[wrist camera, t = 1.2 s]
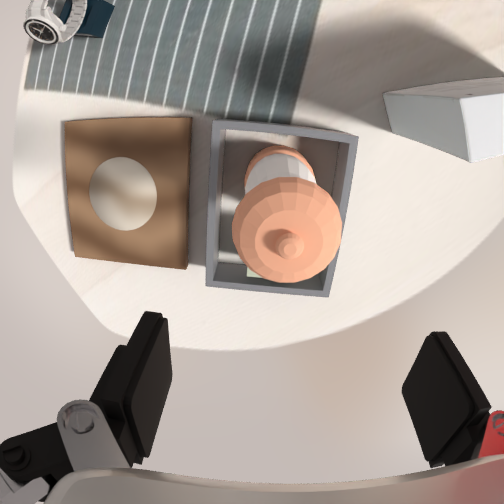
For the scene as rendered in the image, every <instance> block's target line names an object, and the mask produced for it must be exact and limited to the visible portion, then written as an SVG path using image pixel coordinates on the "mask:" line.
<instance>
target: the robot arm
mask: <svg viewBox="0 0 504 504" xmlns="http://www.w3.org/2000/svg"><path fill="white" fill-rule="evenodd" d="M171 382H172V365H171V355H170V344H169V331H168V320H167V318H163V316H162V314H161V313H156V312H149V311H145V312H144V314H143V315H142V317H141V319H140V321H139V323H138V325H137V327H136V328H135V330H134V332H133V334H132V336H131V338H130V340H129V342H128V344H127V346H125V345H119V346H118V347H117V348H116V350H115V352H114V354H113V356H112V357H111V359H110V361H109V363H108V365H107V367H106V369H105V370H104V372H103V374H102V376H101V378H100V380H99V382H98V384H97V386H96V388H95V390H94V392H93V394H92V396H91V398H90V400H89V401H88V400H74V401H71V402H69V403H67V404H66V405H64V406H63V407H62V408H61V409H60V411H59V412H58V416H57V422H56V423H53V424H50V425H47V426H44V427H41V428H39V429H36V430H33V431H30V432H27V433H24V434H21V435H17V436H15V437H11V438H9V439H7V440H5V441H4V442H2V444H0V504H35V503H36V502H37V501H40V502H44V504H504V411H501V410H499V411H498V410H497V411H494V412H492V413H491V414H490V413H489V412H488V411H489V410H490V409H491V405H490V403H489V402H488V400H487V398H486V396H485V394H484V392H483V391H482V389H481V387H480V385H479V384H478V382H477V380H476V379H475V377H474V375H473V374H472V372H471V370H470V368H469V367H468V365H467V364H466V362H465V360H464V359H463V357H462V355H461V354H460V352H459V351H458V349H457V348H456V346H455V344H454V343H453V341H452V340H451V339H450V337H449V335H448V334H447V333H446V332H431V334H430V335H429V336H427V337H426V339H425V341H424V343H423V345H422V347H421V349H420V351H419V353H418V356H417V358H416V360H415V362H414V364H413V366H412V368H411V370H410V372H409V374H408V376H407V378H406V380H405V382H404V383H403V386H402V394H403V397H404V400H405V403H406V406H407V408H408V411H409V413H410V416H411V419H412V422H413V425H414V428H415V430H416V434H417V436H418V439H419V442H420V445H421V448H422V451H423V454H424V457H425V460H426V461H429V464H430V467H431V468H433V467H438V466H442V465H443V464H445V467H441V468H436V469H432V470H427V471H422V472H417V473H411V474H405V475H399V476H393V477H385V478H378V479H370V480H361V481H349V482H335V483H313V484H273V483H272V484H271V483H251V482H237V481H225V480H214V479H205V478H197V477H189V476H183V475H176V474H171V473H163V472H156V471H150V470H142V469H133V468H132V466H133V463H137V464H142V461H143V458H144V457H147V458H148V457H149V455H150V452H151V449H152V445H153V442H154V439H155V435H156V432H157V428H158V425H159V421H160V418H161V415H162V411H163V408H164V405H165V401H166V398H167V395H168V391H169V388H170V385H171Z"/></svg>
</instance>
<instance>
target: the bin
mask: <svg viewBox="0 0 504 504" xmlns="http://www.w3.org/2000/svg"><path fill="white" fill-rule="evenodd" d="M226 129H230V130H244V131H256V132H267V133H277V134H286V135H295V136H303V137H310V138H318V139H325V140H331V141H338V142H339V149H338V157H337V164H336V170H335V177H334V184H333V190H332V196H331V198H332V199H333V201H334V202H335V204H336V205H337V207H338V209H339V213H340V217H341V221H342V231H341V238H342V233H343V228H344V223H345V218H346V212H347V207H348V201H349V196H350V190H351V184H352V178H353V172H354V165H355V159H356V152H357V145H358V138H359V137H358V136H355V135H352V134H349V133H344V132H338V131H332V130H325V129H318V128H311V127H303V126H295V125H287V124H278V123H268V122H257V121H245V120H231V119H216V120H213V122H212V137H211V153H210V171H209V192H208V215H207V244H206V286H209V287H218V288H228V289H238V290H248V291H258V292H269V293H280V294H292V295H304V296H317V297H329V293H330V289H331V285H332V280H333V276H334V271H335V267H336V262H337V257H338V253H339V248H340V245H339V248H338V250H337V252H336V255H335V257H334V258H333V260H332V261H331V262H330V263H329V264H328V265H327V266H326V268H325V269H324V270H322V271H321V272H319V273H318V274H316V275H314V276H313V277H311V278H309V279H305V280H302V281H299V282H294V283H279V282H275V281H271V280H268V279H264V278H259V277H248V276H247V268H248V267H247V266H246V265H238V264H228V263H218V256H219V234H220V215H221V197H222V180H223V165H224V150H225V136H226ZM340 243H341V242H340Z"/></svg>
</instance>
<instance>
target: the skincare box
mask: <svg viewBox="0 0 504 504" xmlns="http://www.w3.org/2000/svg"><path fill="white" fill-rule="evenodd" d="M383 98H384V102H385V106H386V111H387V115H388V119H389V123H390V126H391V129H392V133H393V134H397V135H400V136H403V137H406V138H409V139H412V140H414V141H417V142H420V143H423V144H425V145H428V146H431V147H433V148H436V149H439V150H441V151H444V152H446V153H449V154H451V155H454V156H456V157H459V158H461V159H464V160H466V161H468V162H470V163H473V162H477V161H481V160H485V159H489V158H493V157H497V156H501V155H504V77H493V78H482V79H471V80H461V81H453V82H445V83H438V84H431V85H425V86H419V87H413V88H407V89H401V90H396V91H390V92H385V93H383Z"/></svg>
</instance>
